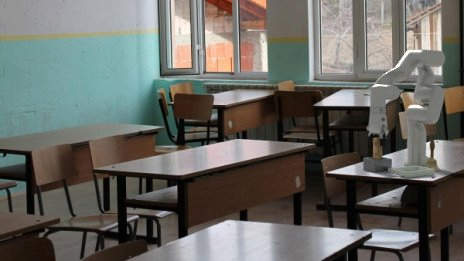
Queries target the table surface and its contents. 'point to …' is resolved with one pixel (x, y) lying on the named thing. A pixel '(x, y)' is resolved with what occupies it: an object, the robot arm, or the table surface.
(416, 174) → the tray
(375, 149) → the dowel
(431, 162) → the hand bell
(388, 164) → the grey socket block
